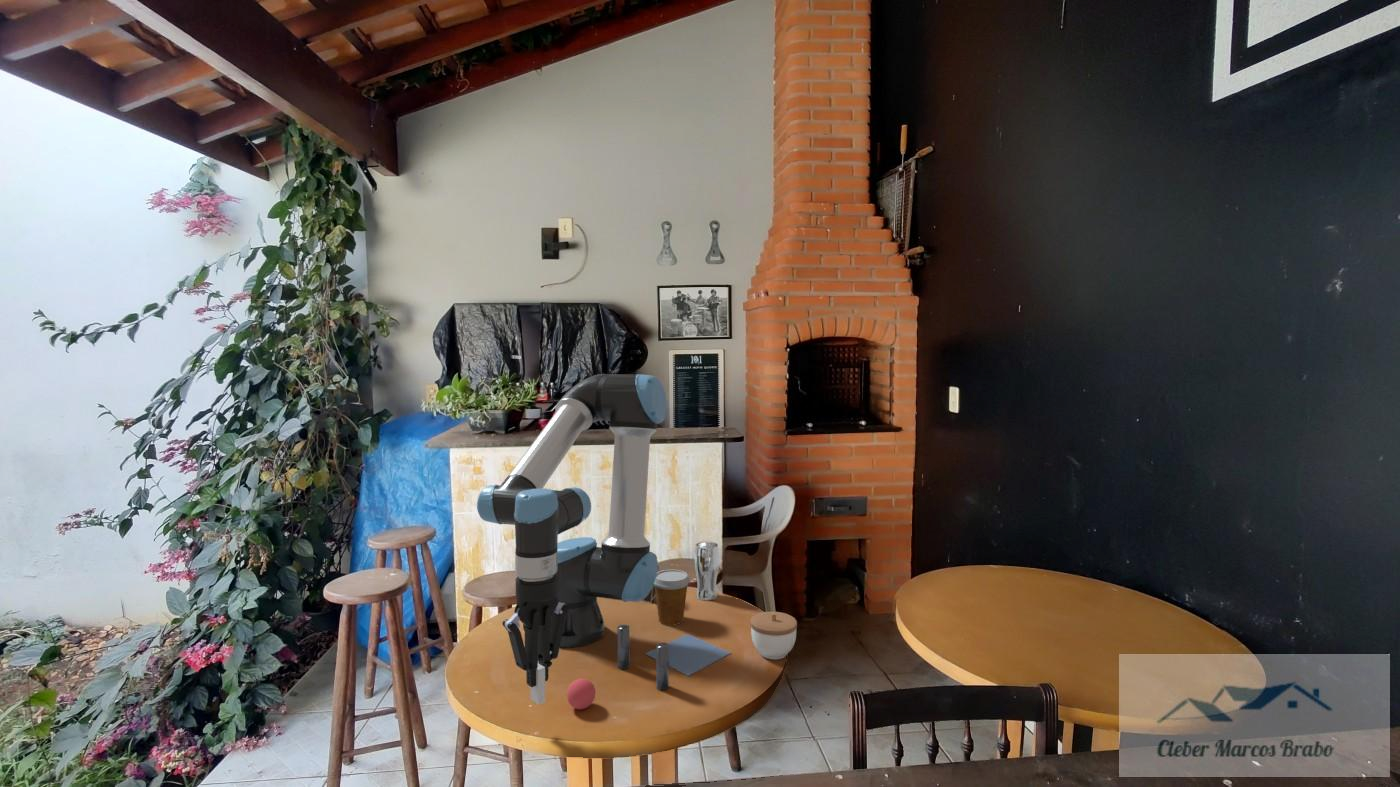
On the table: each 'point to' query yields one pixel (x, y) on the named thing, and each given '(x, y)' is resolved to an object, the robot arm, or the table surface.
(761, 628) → the lidded jar
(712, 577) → the beer glass
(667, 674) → the post
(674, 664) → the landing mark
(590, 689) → the ball
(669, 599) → the disposable coffee cup
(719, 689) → the table surface
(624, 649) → the post
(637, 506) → the robot arm
